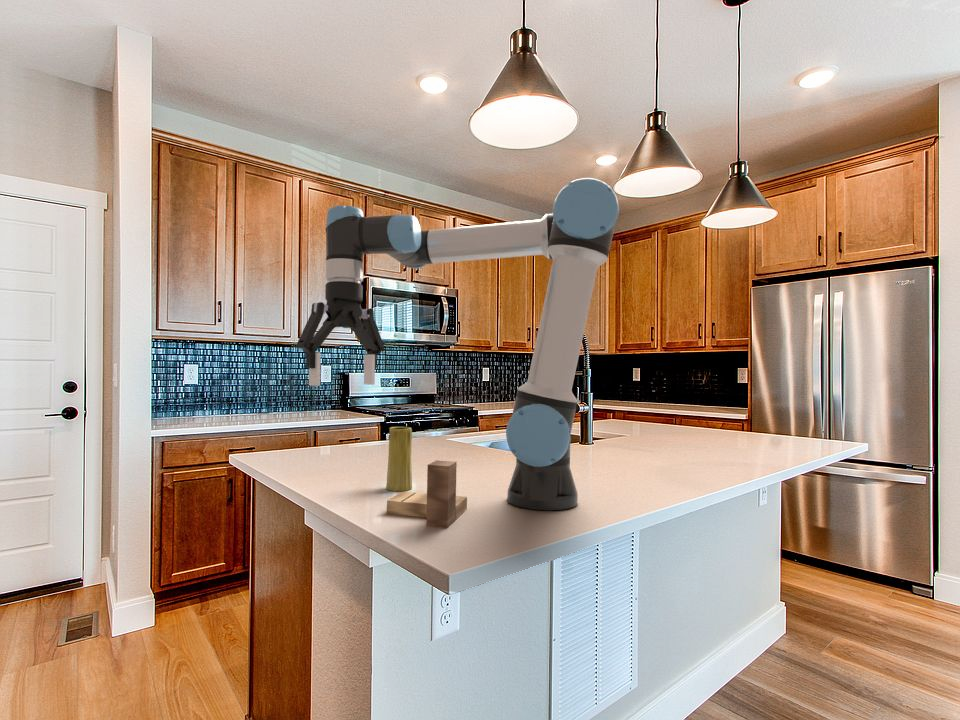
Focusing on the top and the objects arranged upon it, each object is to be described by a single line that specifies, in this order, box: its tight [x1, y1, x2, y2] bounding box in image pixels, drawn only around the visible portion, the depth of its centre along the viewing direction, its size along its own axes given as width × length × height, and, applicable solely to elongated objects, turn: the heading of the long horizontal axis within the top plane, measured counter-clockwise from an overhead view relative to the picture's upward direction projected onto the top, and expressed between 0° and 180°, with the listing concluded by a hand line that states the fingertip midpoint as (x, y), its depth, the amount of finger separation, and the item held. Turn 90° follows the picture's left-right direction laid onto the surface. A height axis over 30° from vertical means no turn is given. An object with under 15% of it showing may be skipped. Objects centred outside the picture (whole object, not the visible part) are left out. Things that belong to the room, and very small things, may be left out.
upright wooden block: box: [425, 459, 458, 529], centre depth 99 cm, size 4×10×11 cm, turn 167°
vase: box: [385, 426, 413, 492], centre depth 124 cm, size 6×6×14 cm
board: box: [386, 491, 468, 521], centre depth 104 cm, size 14×8×3 cm, turn 76°
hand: (343, 385), depth 109 cm, fingers open, 13 cm apart
